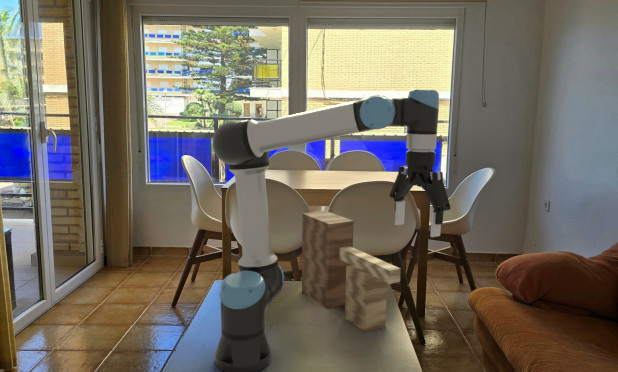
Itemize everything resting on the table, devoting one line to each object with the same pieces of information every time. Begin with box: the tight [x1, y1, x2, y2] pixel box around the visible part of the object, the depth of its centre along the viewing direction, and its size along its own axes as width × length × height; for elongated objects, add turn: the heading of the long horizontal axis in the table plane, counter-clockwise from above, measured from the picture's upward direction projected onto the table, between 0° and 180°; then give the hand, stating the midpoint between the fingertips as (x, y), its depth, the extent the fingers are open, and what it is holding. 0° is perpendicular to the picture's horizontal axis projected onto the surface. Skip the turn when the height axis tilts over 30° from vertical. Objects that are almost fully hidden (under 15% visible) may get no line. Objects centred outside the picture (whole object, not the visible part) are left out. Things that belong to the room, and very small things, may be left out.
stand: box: [301, 210, 355, 310], centre depth 171 cm, size 18×10×30 cm, turn 31°
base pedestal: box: [344, 265, 388, 333], centre depth 152 cm, size 11×8×18 cm
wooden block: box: [339, 246, 401, 285], centre depth 150 cm, size 26×4×4 cm, turn 31°
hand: (416, 230), depth 126 cm, fingers open, 13 cm apart
